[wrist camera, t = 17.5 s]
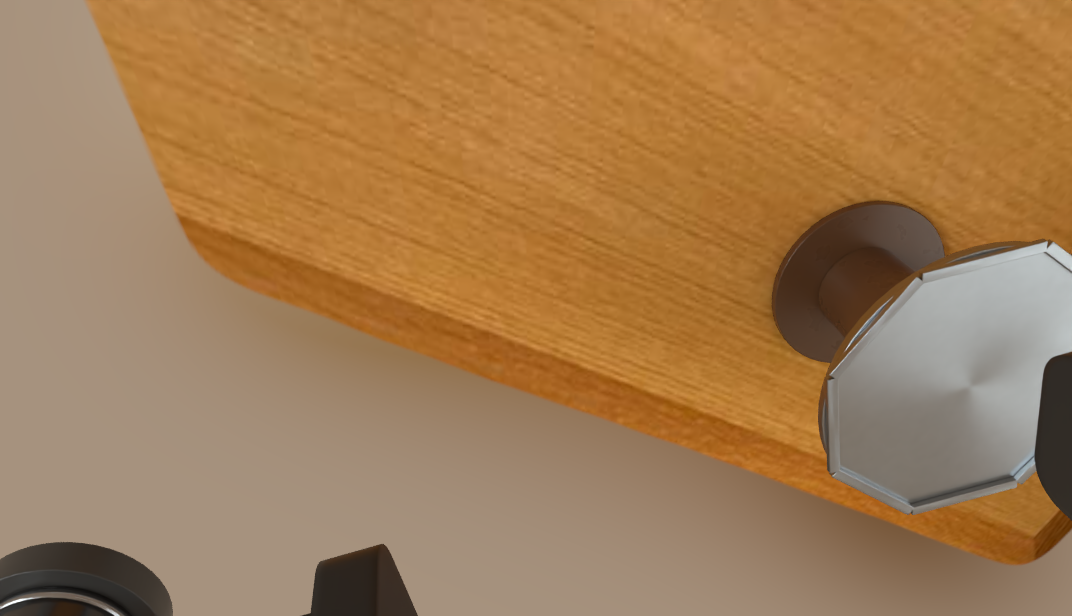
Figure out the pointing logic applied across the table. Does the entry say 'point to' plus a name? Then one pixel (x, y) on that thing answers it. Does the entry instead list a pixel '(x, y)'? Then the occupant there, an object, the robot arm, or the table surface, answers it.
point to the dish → (924, 351)
